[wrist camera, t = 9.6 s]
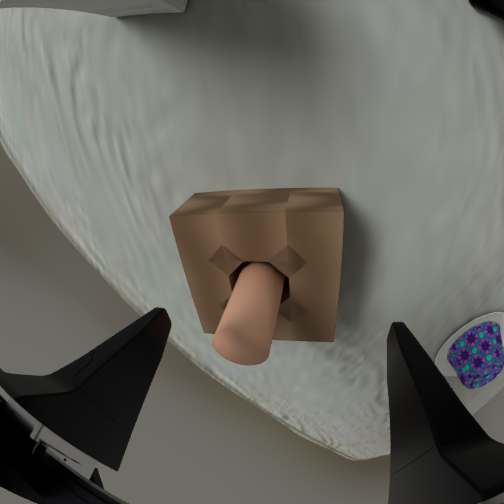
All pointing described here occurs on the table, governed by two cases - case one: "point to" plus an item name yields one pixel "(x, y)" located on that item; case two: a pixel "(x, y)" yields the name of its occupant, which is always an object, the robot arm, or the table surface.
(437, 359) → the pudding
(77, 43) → the table surface
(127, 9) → the supplement box
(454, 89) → the table surface
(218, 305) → the bore block
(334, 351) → the table surface
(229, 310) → the pin
